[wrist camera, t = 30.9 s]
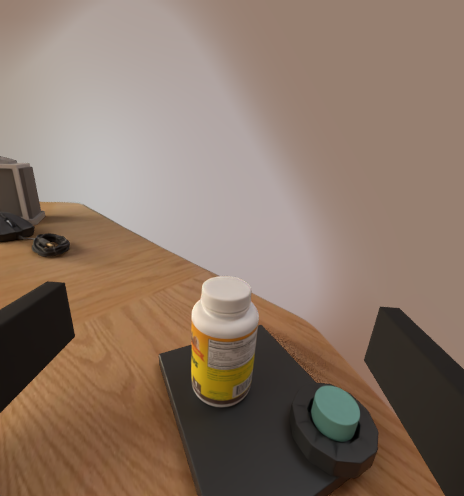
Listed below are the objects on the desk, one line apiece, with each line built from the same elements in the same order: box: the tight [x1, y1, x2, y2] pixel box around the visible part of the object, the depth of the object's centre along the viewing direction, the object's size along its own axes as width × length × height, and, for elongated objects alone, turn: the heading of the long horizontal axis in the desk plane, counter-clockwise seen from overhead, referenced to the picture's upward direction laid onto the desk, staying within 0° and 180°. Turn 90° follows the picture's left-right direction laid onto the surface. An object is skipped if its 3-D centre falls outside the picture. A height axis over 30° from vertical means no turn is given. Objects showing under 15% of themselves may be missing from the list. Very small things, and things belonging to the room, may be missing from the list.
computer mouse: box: [0, 212, 70, 257], centre depth 57 cm, size 10×32×6 cm, turn 65°
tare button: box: [311, 386, 360, 442], centre depth 19 cm, size 3×3×2 cm
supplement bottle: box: [191, 276, 259, 407], centre depth 21 cm, size 6×6×10 cm
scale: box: [159, 325, 378, 496], centre depth 22 cm, size 17×14×3 cm
